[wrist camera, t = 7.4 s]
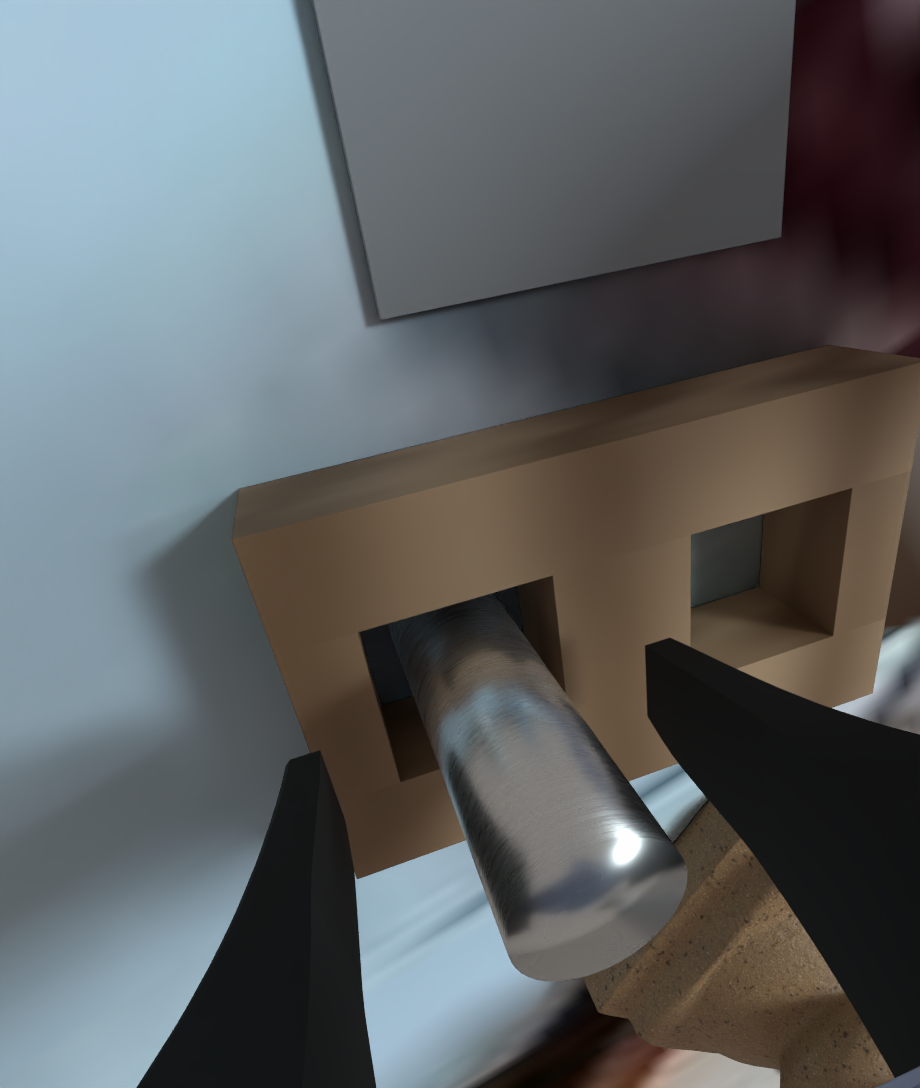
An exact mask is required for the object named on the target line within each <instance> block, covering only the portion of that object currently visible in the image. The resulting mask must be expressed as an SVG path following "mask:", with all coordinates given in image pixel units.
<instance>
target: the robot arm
mask: <svg viewBox="0 0 920 1088" xmlns="http://www.w3.org/2000/svg"><path fill="white" fill-rule="evenodd" d="M645 663H646V691H647V717H648V718H649V720H650V721H651V723H652V725H653V726H654V728H655V729H656V731H657V733H658V734H659V736H660V738H661V739H662V741H663V742H664V744H665V745H666V747H667V748H668V750H669V751H670V753H671V754H672V756H673V757H674V758H675V760H676V761H677V762H678V763H679V765H680V766H681V767H682V768H683V769H684V771H685V772H686V773H687V774H688V775H689V777H690V778H691V779H692V780H693V782H694V783H695V784H696V785H697V786H698V788H699V789H700V790H701V791H702V792H703V794H704V795H705V796H706V797H707V798H708V800H709V801H710V802H711V803H712V804H713V805H714V807H715V808H716V809H717V810H718V811H719V813H720V814H721V815H722V816H723V817H724V819H725V820H726V821H727V822H728V823H729V825H730V826H731V827H732V828H733V829H734V831H735V832H736V833H737V834H738V835H739V837H740V838H741V839H742V840H743V841H744V843H745V844H746V845H747V847H748V848H749V849H750V851H751V852H752V853H753V854H754V856H755V857H756V858H757V860H758V861H759V863H760V864H761V865H762V867H763V868H764V870H765V871H766V873H767V874H768V876H769V877H770V879H771V880H772V881H773V883H774V884H775V886H776V887H777V889H778V890H779V892H780V893H781V894H782V896H783V897H784V899H785V900H786V902H787V903H788V905H789V906H790V908H791V909H792V911H793V912H794V914H795V915H796V917H797V919H798V920H799V922H800V923H801V925H802V926H803V928H804V929H805V931H806V932H807V934H808V935H809V937H810V938H811V940H812V941H813V943H814V944H815V946H816V948H817V949H818V951H819V952H820V954H821V955H822V957H823V959H824V960H825V962H826V964H827V965H828V967H829V968H830V970H831V972H832V973H833V975H834V976H835V978H836V980H837V981H838V983H839V984H840V986H841V988H842V989H843V991H844V993H845V994H846V996H847V997H848V999H849V1001H850V1002H851V1004H852V1005H853V1007H854V1009H855V1011H856V1012H857V1014H858V1016H859V1017H860V1019H861V1021H862V1023H863V1024H864V1026H865V1028H866V1029H867V1031H868V1033H869V1034H870V1036H871V1038H872V1040H873V1041H874V1043H875V1045H876V1046H877V1048H878V1050H879V1052H880V1053H881V1055H882V1057H883V1058H884V1060H885V1062H886V1063H887V1065H888V1067H889V1069H890V1071H891V1072H892V1074H893V1076H894V1079H892V1080H890V1081H888V1082H886V1083H884V1084H882V1085H880V1086H878V1087H876V1088H920V735H919V734H915V733H911V732H907V731H904V730H900V729H896V728H892V727H889V726H885V725H882V724H878V723H875V722H872V721H869V720H866V719H862V718H859V717H856V716H853V715H850V714H847V713H844V712H841V711H838V710H835V709H832V708H829V707H827V706H824V705H821V704H818V703H816V702H813V701H811V700H808V699H806V698H803V697H801V696H798V695H796V694H793V693H791V692H788V691H786V690H783V689H781V688H779V687H776V686H774V685H771V684H769V683H767V682H765V681H762V680H760V679H758V678H756V677H753V676H751V675H749V674H747V673H745V672H742V671H740V670H738V669H736V668H734V667H732V666H730V665H727V664H725V663H723V662H721V661H719V660H717V659H715V658H713V657H711V656H709V655H706V654H704V653H702V652H700V651H698V650H696V649H694V648H692V647H690V646H688V645H685V644H683V643H681V642H679V641H677V640H674V639H672V638H667V639H664V640H661V641H657V642H654V643H651V644H648V645H645ZM137 1088H376V1083H375V1077H374V1070H373V1064H372V1057H371V1051H370V1044H369V1038H368V1031H367V1025H366V1018H365V1010H364V1001H363V991H362V978H361V962H360V947H359V932H358V917H357V902H356V888H355V874H354V866H353V860H352V854H351V848H350V843H349V837H348V832H347V826H346V821H345V818H344V815H343V812H342V809H341V807H340V804H339V801H338V798H337V795H336V793H335V790H334V787H333V784H332V782H331V779H330V776H329V773H328V770H327V768H326V765H325V762H324V759H323V756H322V754H321V751H320V750H319V751H316V752H313V753H309V754H306V755H303V756H300V757H297V758H294V759H291V760H289V762H288V763H287V765H286V768H285V772H284V777H283V781H282V784H281V788H280V792H279V796H278V799H277V803H276V806H275V809H274V812H273V816H272V819H271V822H270V825H269V828H268V831H267V834H266V836H265V839H264V842H263V845H262V848H261V851H260V854H259V856H258V859H257V862H256V864H255V867H254V869H253V872H252V874H251V877H250V879H249V882H248V884H247V886H246V889H245V891H244V894H243V896H242V899H241V901H240V903H239V906H238V908H237V910H236V912H235V915H234V917H233V919H232V921H231V923H230V926H229V928H228V930H227V932H226V934H225V936H224V938H223V940H222V942H221V944H220V946H219V948H218V950H217V952H216V954H215V956H214V958H213V960H212V962H211V964H210V966H209V968H208V970H207V971H206V973H205V975H204V977H203V979H202V981H201V982H200V984H199V986H198V988H197V990H196V992H195V993H194V995H193V997H192V999H191V1001H190V1002H189V1004H188V1006H187V1008H186V1009H185V1011H184V1013H183V1015H182V1016H181V1018H180V1020H179V1021H178V1023H177V1025H176V1026H175V1028H174V1030H173V1031H172V1033H171V1034H170V1036H169V1038H168V1039H167V1041H166V1042H165V1044H164V1045H163V1047H162V1049H161V1050H160V1052H159V1053H158V1055H157V1056H156V1058H155V1060H154V1061H153V1063H152V1064H151V1066H150V1067H149V1069H148V1071H147V1072H146V1074H145V1075H144V1077H143V1078H142V1080H141V1082H140V1083H139V1085H138V1086H137Z"/></svg>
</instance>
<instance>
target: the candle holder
mask: <svg viewBox="0 0 920 1088" xmlns="http://www.w3.org/2000/svg"><path fill="white" fill-rule="evenodd" d="M674 846H675V847H676V849H677V850H678V851H679V853H680V854H681V856H682V857H683V859H684V861H685V864H686V867H687V885H686V889H685V892H684V895H683V898H682V900H681V902H680V904H679V906H678V908H677V909H676V911H675V913H674V914H673V916H672V917H671V918H670V920H669V921H668V922H667V924H666V925H665V926H664V927H663V928H662V929H661V930H660V931H659V932H658V933H657V934H656V935H655V936H654V937H653V938H652V939H651V940H650V941H649V942H648V943H646V944H645V945H644V946H643V947H641V948H640V949H639V950H637V951H636V952H635V953H633V954H632V955H630V956H629V957H627V958H625V959H624V960H622V961H620V962H619V963H617V964H615V965H613V966H611V967H609V968H607V969H604V970H602V971H600V972H597V973H594V974H591V975H588V976H585V977H582V978H583V980H584V982H585V984H586V986H587V989H588V991H589V993H590V995H591V998H592V1000H593V1002H594V1004H595V1006H596V1009H597V1011H598V1012H599V1013H602V1014H605V1015H610V1016H616V1017H622V1018H628V1019H629V1020H630V1022H631V1023H632V1025H633V1027H634V1029H635V1031H636V1033H637V1035H638V1037H639V1038H641V1039H643V1040H645V1041H646V1042H648V1043H650V1044H651V1045H653V1046H659V1047H664V1048H670V1049H682V1050H694V1051H702V1052H710V1053H719V1054H722V1055H724V1056H726V1057H728V1058H731V1059H733V1060H735V1061H738V1062H741V1063H745V1064H749V1065H753V1066H759V1067H766V1068H773V1069H778V1070H780V1088H876V1087H878V1086H880V1085H882V1084H884V1083H886V1082H888V1081H890V1080H892V1079H894V1076H893V1074H892V1072H891V1071H890V1069H889V1067H888V1065H887V1063H886V1062H885V1060H884V1058H883V1057H882V1055H881V1053H880V1052H879V1050H878V1048H877V1046H876V1045H875V1043H874V1041H873V1040H872V1038H871V1036H870V1034H869V1033H868V1031H867V1029H866V1028H865V1026H864V1024H863V1023H862V1021H861V1019H860V1017H859V1016H858V1014H857V1012H856V1011H855V1009H854V1007H853V1005H852V1004H851V1002H850V1001H849V999H848V997H847V996H846V994H845V993H844V991H843V989H842V988H841V986H840V984H839V983H838V981H837V980H836V978H835V976H834V975H833V973H832V972H831V970H830V968H829V967H828V965H827V964H826V962H825V960H824V959H823V957H822V955H821V954H820V952H819V951H818V949H817V948H816V946H815V944H814V943H813V941H812V940H811V938H810V937H809V935H808V934H807V932H806V931H805V929H804V928H803V926H802V925H801V923H800V922H799V920H798V919H797V917H796V915H795V914H794V912H793V911H792V909H791V908H790V906H789V905H788V903H787V902H786V900H785V899H784V897H783V896H782V894H781V893H780V892H779V890H778V889H777V887H776V886H775V884H774V883H773V881H772V880H771V879H770V877H769V876H768V874H767V873H766V871H765V870H764V868H763V867H762V865H761V864H760V863H759V861H758V860H757V858H756V857H755V856H754V854H753V853H752V852H751V851H750V849H749V848H748V847H747V845H746V844H745V843H744V841H743V840H742V839H741V838H740V837H739V835H738V834H737V833H736V832H735V831H734V829H733V828H732V827H731V826H730V825H729V823H728V822H727V821H726V820H725V819H724V817H723V816H722V815H721V814H720V813H719V811H718V810H717V809H716V808H715V807H714V805H713V804H712V803H711V802H710V801H708V802H707V803H706V804H705V805H704V806H703V808H702V809H701V810H700V811H699V812H698V813H697V815H696V816H695V817H694V819H693V820H692V821H691V822H690V824H689V825H688V826H687V827H686V829H685V830H684V831H683V832H682V834H681V835H680V836H679V837H678V839H677V840H676V841H675V842H674Z"/></svg>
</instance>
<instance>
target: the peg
mask: <svg viewBox="0 0 920 1088" xmlns="http://www.w3.org/2000/svg"><path fill="white" fill-rule="evenodd" d="M388 627H389V631H390V634H391V637H392V640H393V642H394V645H395V648H396V651H397V653H398V656H399V659H400V661H401V664H402V667H403V670H404V672H405V675H406V678H407V681H408V683H409V686H410V689H411V691H412V694H413V697H414V700H415V702H416V705H417V708H418V710H419V713H420V716H421V719H422V721H423V724H424V727H425V730H426V732H427V735H428V738H429V740H430V743H431V746H432V749H433V751H434V754H435V757H436V760H437V762H438V765H439V768H440V770H441V773H442V776H443V779H444V781H445V784H446V787H447V789H448V792H449V795H450V798H451V800H452V803H453V806H454V809H455V811H456V814H457V817H458V819H459V822H460V825H461V828H462V830H463V833H464V836H465V839H466V841H467V844H468V847H469V849H470V852H471V855H472V858H473V860H474V863H475V866H476V869H477V871H478V874H479V877H480V879H481V882H482V885H483V888H484V890H485V893H486V896H487V898H488V901H489V904H490V907H491V909H492V912H493V915H494V918H495V920H496V923H497V926H498V928H499V931H500V934H501V937H502V939H503V942H504V945H505V948H506V950H507V953H508V956H509V958H510V960H511V963H512V964H513V965H514V967H515V968H516V969H517V970H518V971H520V972H521V973H522V974H524V975H526V976H528V977H530V978H533V979H536V980H542V981H567V980H572V979H578V978H581V977H585V976H588V975H591V974H594V973H597V972H600V971H602V970H604V969H607V968H609V967H611V966H613V965H615V964H617V963H619V962H620V961H622V960H624V959H625V958H627V957H629V956H630V955H632V954H633V953H635V952H636V951H637V950H639V949H640V948H641V947H643V946H644V945H645V944H646V943H648V942H649V941H650V940H651V939H652V938H653V937H654V936H655V935H656V934H657V933H658V932H659V931H660V930H661V929H662V928H663V927H664V926H665V925H666V924H667V922H668V921H669V920H670V918H671V917H672V916H673V914H674V913H675V911H676V909H677V908H678V906H679V904H680V902H681V900H682V898H683V895H684V892H685V889H686V885H687V867H686V864H685V861H684V859H683V857H682V856H681V854H680V853H679V851H678V850H677V849H676V847H675V846H674V844H673V843H672V842H671V840H670V839H669V837H668V836H667V835H666V833H665V832H664V830H663V829H662V828H661V826H660V825H659V823H658V822H657V821H656V819H655V818H654V816H653V815H652V814H651V812H650V811H649V809H648V808H647V807H646V805H645V804H644V802H643V801H642V800H641V798H640V797H639V795H638V794H637V793H636V791H635V790H634V788H633V787H632V786H631V784H630V783H629V781H628V780H627V779H626V777H625V776H624V774H623V773H622V772H621V770H620V769H619V767H618V766H617V765H616V763H615V762H614V760H613V759H612V758H611V756H610V755H609V753H608V752H607V751H606V749H605V748H604V747H603V745H602V744H601V742H600V741H599V740H598V738H597V737H596V735H595V734H594V733H593V731H592V730H591V728H590V727H589V726H588V724H587V723H586V721H585V720H584V719H583V717H582V716H581V714H580V713H579V712H578V710H577V709H576V707H575V706H574V705H573V703H572V702H571V700H570V699H569V698H568V696H567V695H566V693H565V692H564V691H563V689H562V688H561V686H560V685H559V684H558V682H557V681H556V679H555V678H554V677H553V675H552V674H551V672H550V671H549V670H548V668H547V667H546V665H545V664H544V663H543V661H542V660H541V658H540V657H539V656H538V654H537V653H536V651H535V650H534V649H533V647H532V646H531V644H530V643H529V642H528V640H527V639H526V637H525V636H524V635H523V633H522V632H521V630H520V629H519V628H518V626H517V625H516V623H515V622H514V621H513V619H512V618H511V616H510V615H509V614H508V612H507V611H506V609H505V608H504V607H503V605H502V604H501V602H500V601H499V600H498V598H497V597H496V595H495V594H494V593H491V594H487V595H484V596H481V597H477V598H474V599H470V600H467V601H464V602H460V603H457V604H453V605H450V606H446V607H443V608H440V609H436V610H433V611H429V612H426V613H423V614H419V615H416V616H412V617H409V618H405V619H402V620H399V621H395V622H392V623H388Z"/></svg>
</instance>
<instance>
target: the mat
mask: <svg viewBox="0 0 920 1088" xmlns="http://www.w3.org/2000/svg"><path fill="white" fill-rule="evenodd" d="M312 5H313V10H314V15H315V19H316V24H317V29H318V34H319V38H320V43H321V48H322V52H323V57H324V62H325V67H326V71H327V76H328V81H329V85H330V90H331V95H332V100H333V104H334V109H335V114H336V118H337V123H338V128H339V133H340V137H341V142H342V147H343V152H344V156H345V161H346V166H347V170H348V175H349V180H350V185H351V189H352V194H353V199H354V203H355V208H356V213H357V218H358V222H359V227H360V232H361V236H362V241H363V246H364V251H365V255H366V260H367V265H368V270H369V274H370V279H371V284H372V288H373V293H374V298H375V303H376V307H377V312H378V317H379V319H381V320H382V319H387V318H392V317H397V316H402V315H406V314H411V313H416V312H421V311H426V310H431V309H435V308H440V307H445V306H450V305H455V304H460V303H464V302H469V301H474V300H479V299H484V298H489V297H494V296H498V295H503V294H508V293H513V292H518V291H523V290H527V289H532V288H537V287H542V286H547V285H552V284H556V283H561V282H566V281H571V280H576V279H581V278H586V277H590V276H595V275H600V274H605V273H610V272H615V271H619V270H624V269H629V268H634V267H639V266H644V265H648V264H653V263H658V262H663V261H668V260H673V259H678V258H682V257H687V256H692V255H697V254H702V253H707V252H711V251H716V250H721V249H726V248H731V247H736V246H740V245H745V244H750V243H755V242H760V241H765V240H770V239H774V238H779V237H781V230H782V214H783V198H784V182H785V166H786V150H787V133H788V117H789V101H790V85H791V69H792V53H793V37H794V21H795V5H796V0H312Z"/></svg>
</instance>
